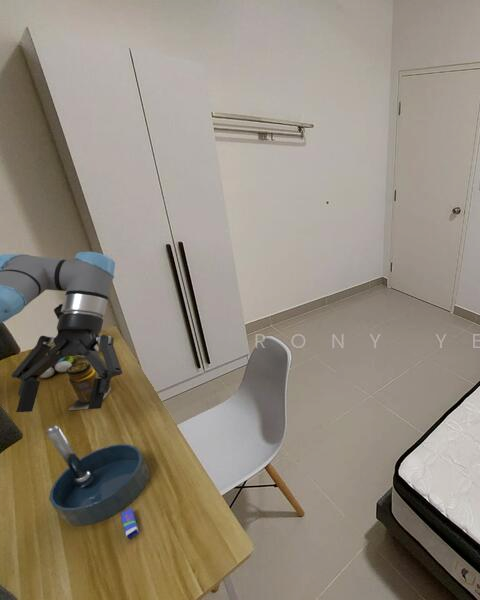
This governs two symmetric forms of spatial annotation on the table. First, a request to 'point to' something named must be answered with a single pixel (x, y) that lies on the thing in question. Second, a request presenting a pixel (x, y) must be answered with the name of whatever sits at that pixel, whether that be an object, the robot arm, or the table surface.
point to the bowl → (101, 485)
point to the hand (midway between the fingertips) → (59, 410)
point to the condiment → (82, 383)
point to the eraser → (129, 523)
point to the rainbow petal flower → (59, 366)
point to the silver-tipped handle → (70, 457)
